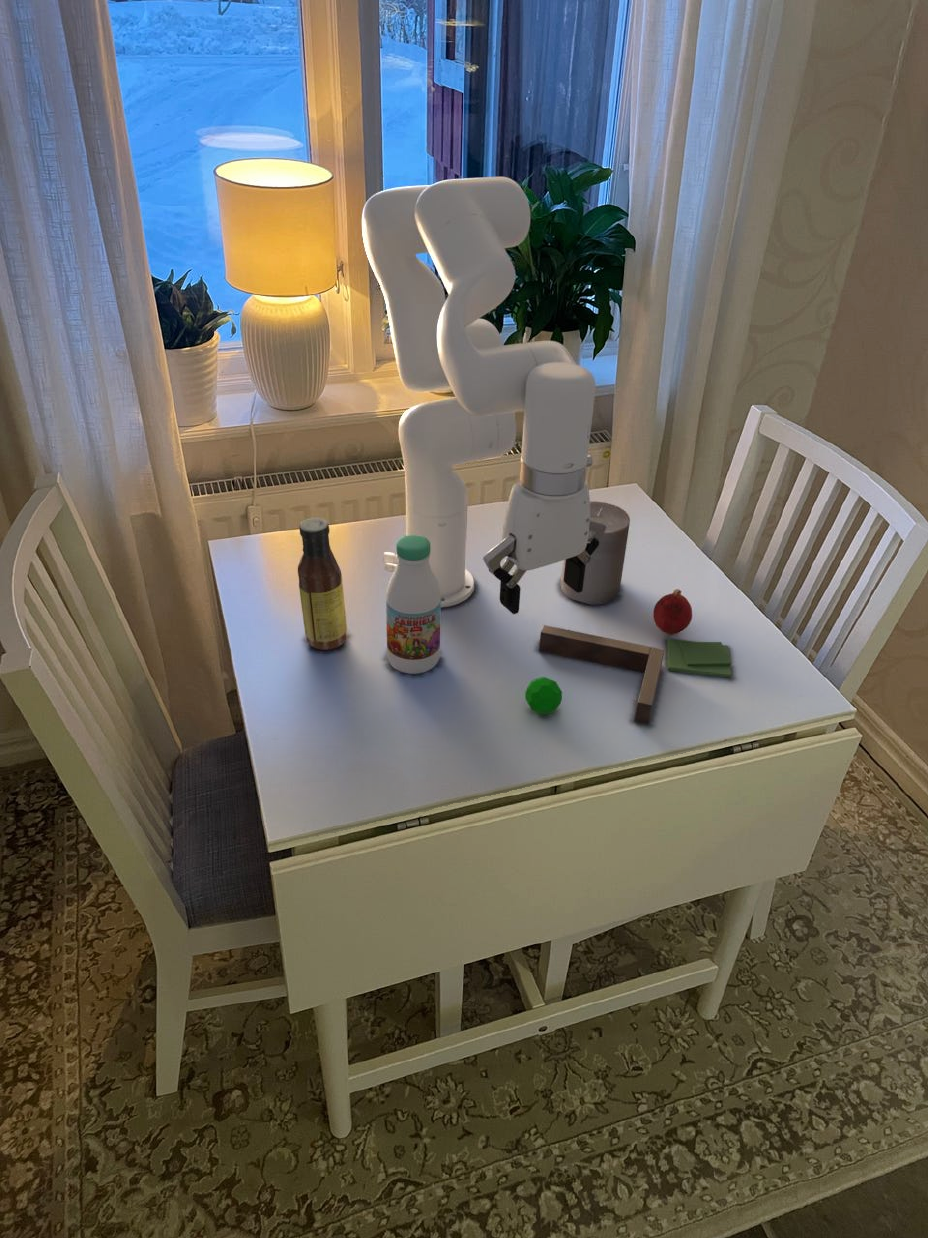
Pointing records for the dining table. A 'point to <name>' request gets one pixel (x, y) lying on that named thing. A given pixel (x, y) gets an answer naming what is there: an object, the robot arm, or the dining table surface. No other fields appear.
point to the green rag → (699, 658)
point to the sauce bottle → (321, 588)
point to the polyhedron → (543, 695)
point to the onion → (672, 613)
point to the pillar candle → (603, 557)
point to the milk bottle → (413, 609)
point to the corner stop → (610, 659)
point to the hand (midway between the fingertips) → (541, 597)
